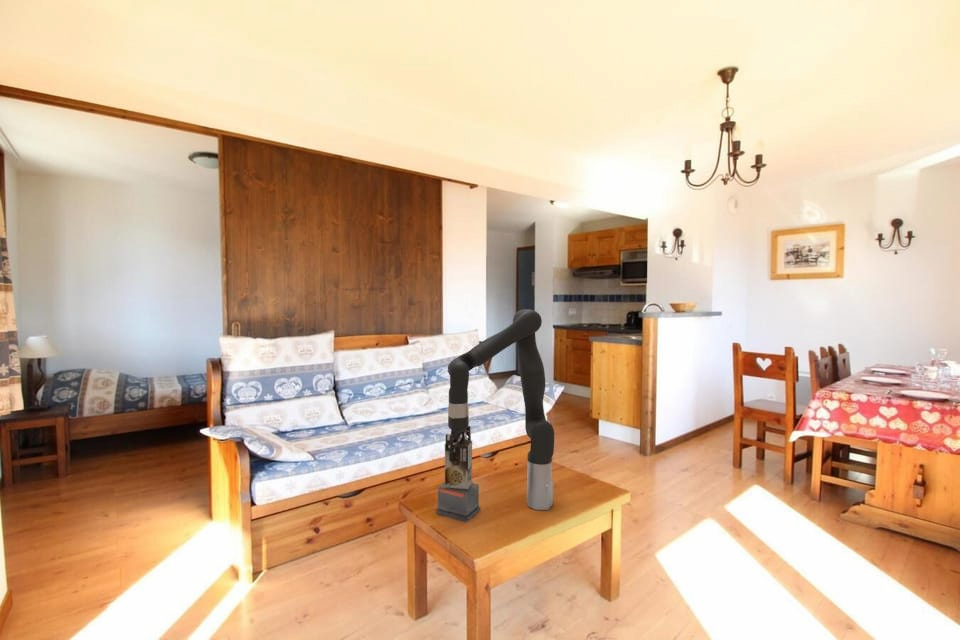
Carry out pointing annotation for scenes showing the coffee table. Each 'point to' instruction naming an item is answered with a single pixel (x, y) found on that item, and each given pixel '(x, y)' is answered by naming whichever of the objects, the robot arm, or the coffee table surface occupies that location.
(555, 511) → the coffee table surface
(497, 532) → the coffee table surface
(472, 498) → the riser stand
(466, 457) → the coffee box
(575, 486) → the coffee table surface
